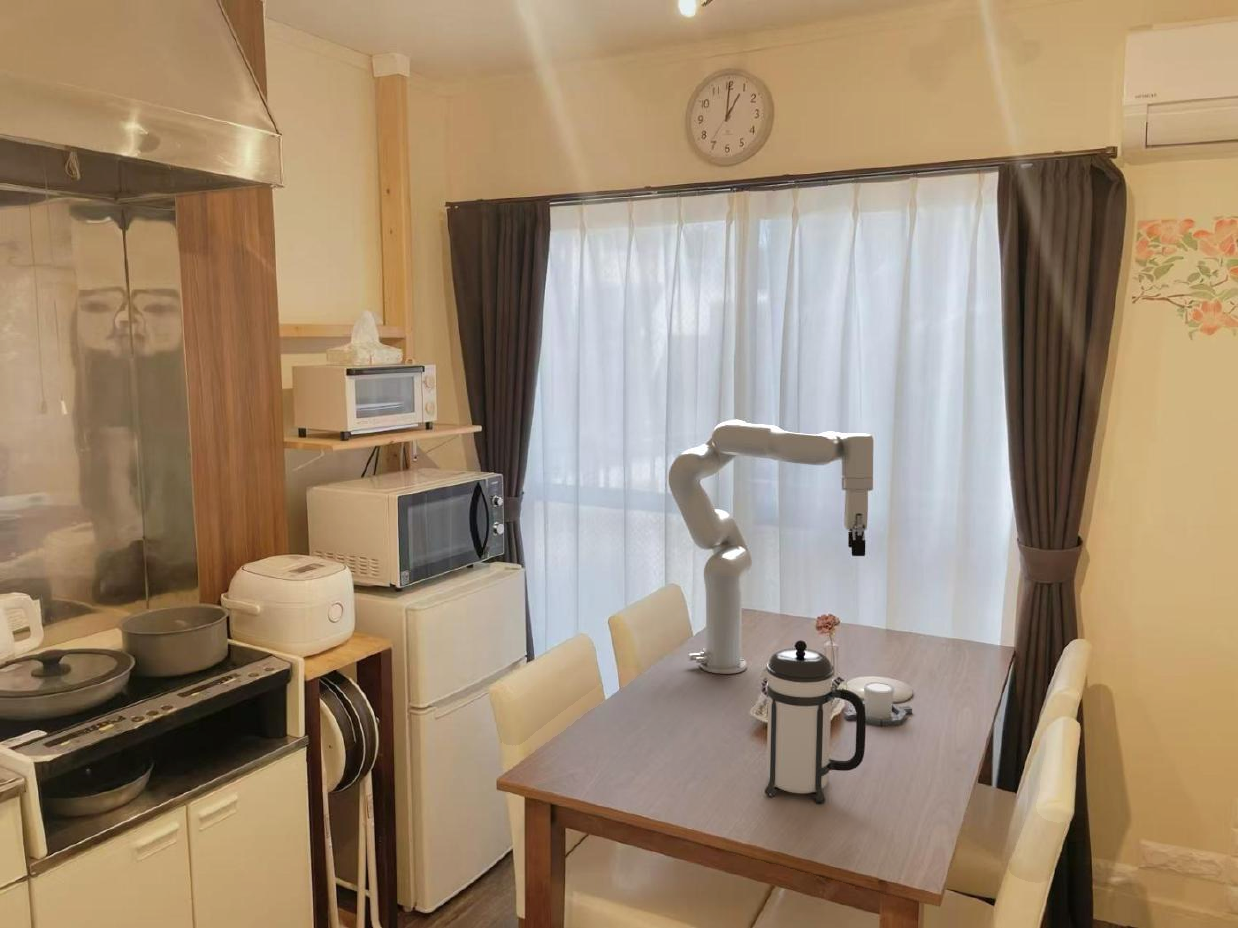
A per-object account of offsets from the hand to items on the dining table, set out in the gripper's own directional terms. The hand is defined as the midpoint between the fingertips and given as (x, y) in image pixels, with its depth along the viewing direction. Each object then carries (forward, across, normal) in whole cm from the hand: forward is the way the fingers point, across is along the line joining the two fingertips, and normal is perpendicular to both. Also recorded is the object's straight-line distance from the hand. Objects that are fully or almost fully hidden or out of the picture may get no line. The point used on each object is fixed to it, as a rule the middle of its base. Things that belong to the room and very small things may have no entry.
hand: (856, 551), depth 233 cm
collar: (+35, +18, +4) cm, 40 cm away
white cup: (+35, +18, +4) cm, 40 cm away
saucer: (+35, +2, +6) cm, 36 cm away
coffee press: (+35, +57, -15) cm, 69 cm away
